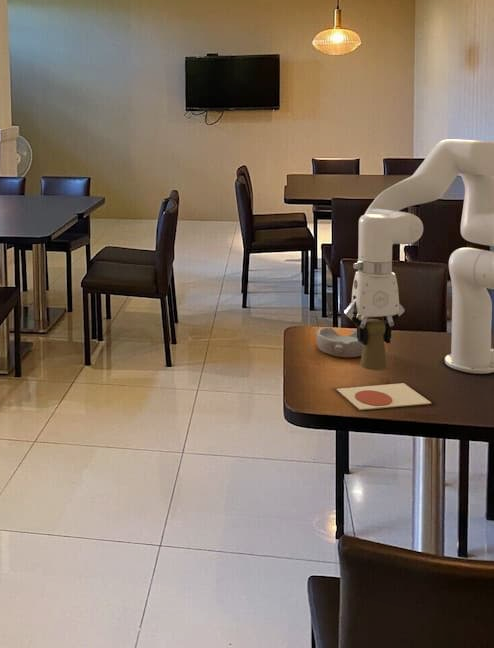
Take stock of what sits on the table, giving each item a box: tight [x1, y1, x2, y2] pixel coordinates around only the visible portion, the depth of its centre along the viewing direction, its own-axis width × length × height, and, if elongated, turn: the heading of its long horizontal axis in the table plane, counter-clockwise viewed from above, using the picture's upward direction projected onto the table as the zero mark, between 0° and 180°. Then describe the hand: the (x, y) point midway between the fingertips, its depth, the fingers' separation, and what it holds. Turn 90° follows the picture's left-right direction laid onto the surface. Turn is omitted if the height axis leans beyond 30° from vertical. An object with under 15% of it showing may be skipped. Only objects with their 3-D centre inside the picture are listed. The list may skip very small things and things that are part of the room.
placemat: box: [336, 382, 433, 411], centre depth 177 cm, size 18×12×1 cm, turn 99°
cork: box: [359, 318, 388, 371], centre depth 174 cm, size 6×6×11 cm
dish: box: [316, 326, 363, 358], centre depth 208 cm, size 14×14×5 cm
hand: (373, 341), depth 174 cm, fingers closed on cork, 5 cm apart
